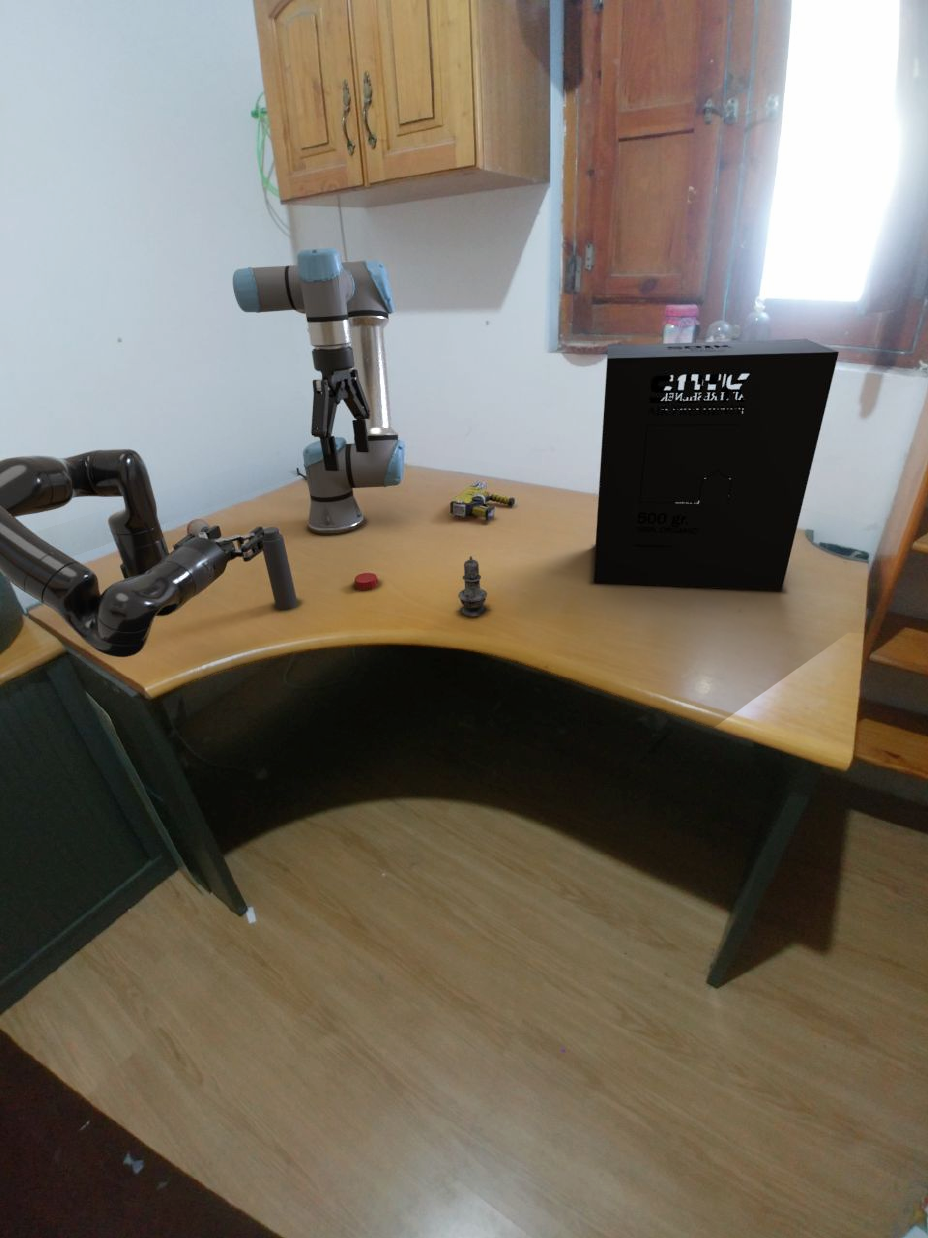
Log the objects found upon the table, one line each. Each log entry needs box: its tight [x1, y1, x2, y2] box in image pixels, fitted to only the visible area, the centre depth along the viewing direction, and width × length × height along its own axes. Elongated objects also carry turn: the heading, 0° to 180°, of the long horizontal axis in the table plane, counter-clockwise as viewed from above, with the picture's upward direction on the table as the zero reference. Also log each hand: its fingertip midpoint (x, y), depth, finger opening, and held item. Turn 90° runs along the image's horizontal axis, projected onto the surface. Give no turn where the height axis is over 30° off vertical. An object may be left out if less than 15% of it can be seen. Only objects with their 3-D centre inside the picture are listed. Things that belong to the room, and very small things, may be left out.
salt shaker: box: [457, 555, 488, 617], centre depth 120 cm, size 6×6×12 cm
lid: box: [354, 572, 379, 591], centre depth 135 cm, size 5×5×2 cm
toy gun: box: [449, 480, 516, 522], centre depth 174 cm, size 5×24×15 cm
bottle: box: [262, 526, 298, 611], centre depth 125 cm, size 4×4×17 cm
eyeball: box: [186, 518, 212, 536], centre depth 162 cm, size 6×6×6 cm
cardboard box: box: [593, 338, 840, 592], centre depth 124 cm, size 38×20×45 cm, turn 78°
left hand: (240, 530), depth 110 cm, fingers open, 8 cm apart
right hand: (348, 460), depth 122 cm, fingers open, 13 cm apart
